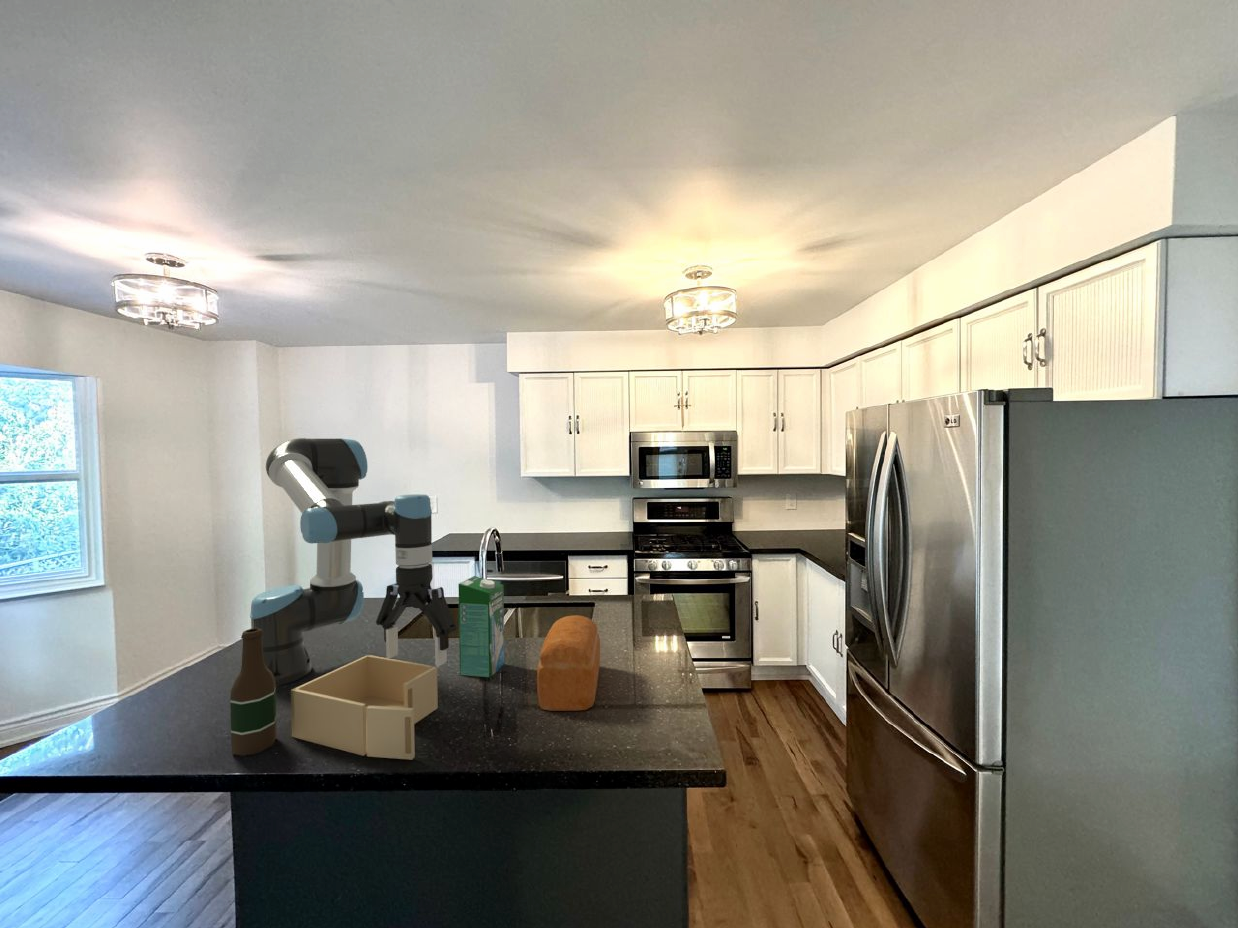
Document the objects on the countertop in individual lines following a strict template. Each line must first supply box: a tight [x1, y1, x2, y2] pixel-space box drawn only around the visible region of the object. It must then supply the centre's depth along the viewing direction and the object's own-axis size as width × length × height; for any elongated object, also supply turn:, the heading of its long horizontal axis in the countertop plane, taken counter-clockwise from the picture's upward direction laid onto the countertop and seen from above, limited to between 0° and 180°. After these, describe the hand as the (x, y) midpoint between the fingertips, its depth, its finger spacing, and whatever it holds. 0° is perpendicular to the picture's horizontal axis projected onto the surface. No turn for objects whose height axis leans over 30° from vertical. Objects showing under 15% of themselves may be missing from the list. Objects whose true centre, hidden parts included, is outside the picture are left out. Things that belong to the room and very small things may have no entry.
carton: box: [290, 654, 434, 756], centre depth 113 cm, size 20×20×10 cm
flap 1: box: [366, 706, 416, 761], centre depth 99 cm, size 1×9×10 cm, turn 83°
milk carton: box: [458, 575, 505, 678], centre depth 140 cm, size 9×9×25 cm
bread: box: [536, 614, 601, 712], centre depth 130 cm, size 14×26×16 cm, turn 179°
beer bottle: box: [229, 628, 278, 757], centre depth 104 cm, size 8×8×24 cm
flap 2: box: [403, 666, 439, 725], centre depth 114 cm, size 1×9×10 cm, turn 159°
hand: (416, 660), depth 112 cm, fingers open, 13 cm apart
